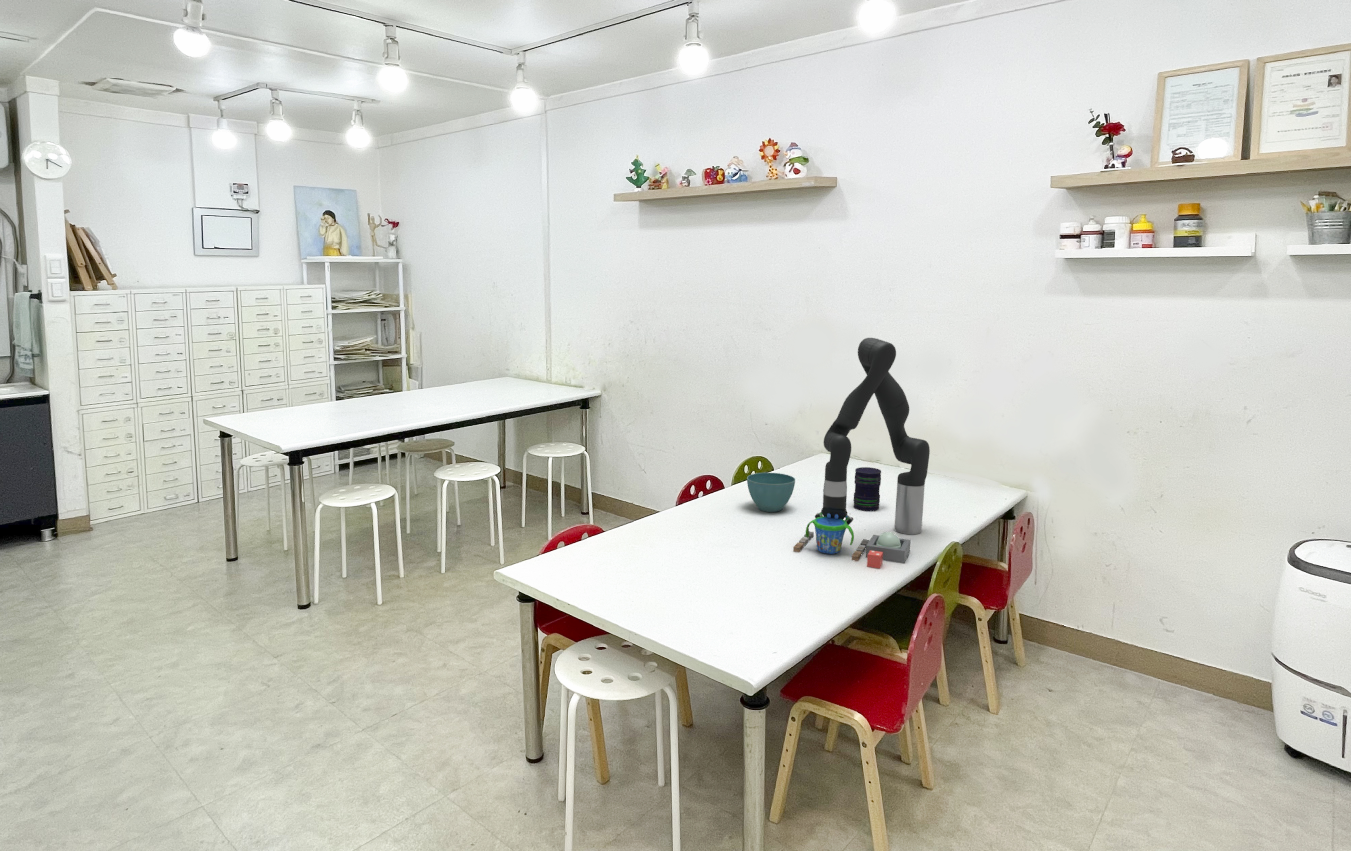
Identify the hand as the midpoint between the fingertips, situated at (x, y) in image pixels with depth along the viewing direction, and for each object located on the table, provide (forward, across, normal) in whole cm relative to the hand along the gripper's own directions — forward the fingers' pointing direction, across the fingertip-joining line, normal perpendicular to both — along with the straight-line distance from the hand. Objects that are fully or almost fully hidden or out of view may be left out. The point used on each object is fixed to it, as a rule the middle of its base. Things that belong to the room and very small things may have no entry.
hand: (832, 543), depth 269 cm
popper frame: (+1, -18, 0) cm, 18 cm away
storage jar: (+2, -1, -50) cm, 50 cm away
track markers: (+1, 0, +2) cm, 2 cm away
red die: (+1, -16, +12) cm, 20 cm away
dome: (+1, -18, 0) cm, 18 cm away
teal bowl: (+1, +32, -32) cm, 45 cm away
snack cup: (+1, 0, +5) cm, 5 cm away
